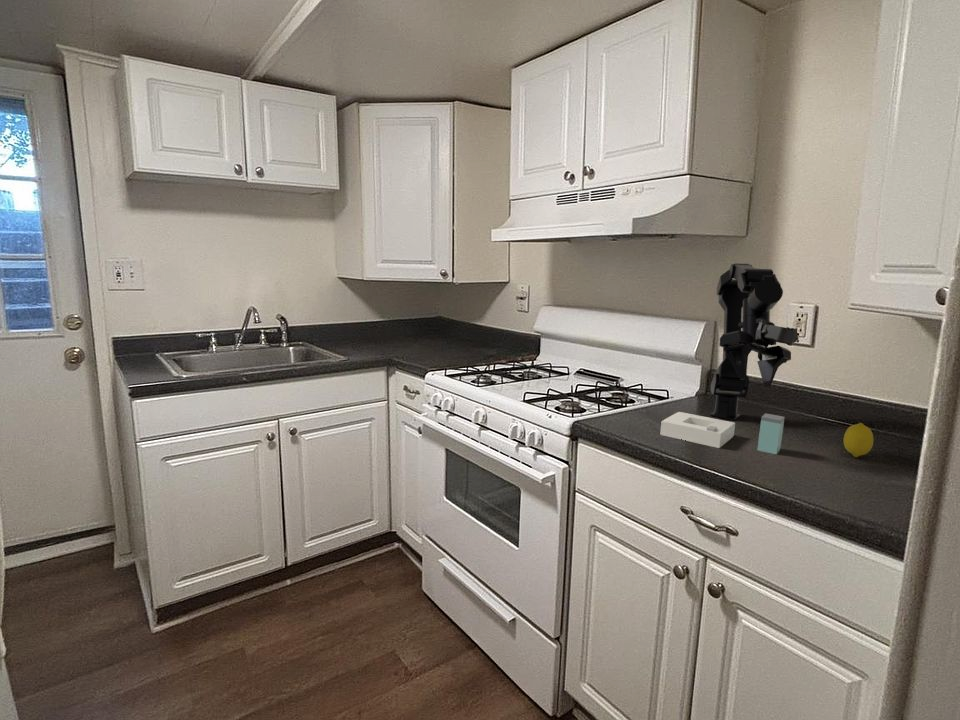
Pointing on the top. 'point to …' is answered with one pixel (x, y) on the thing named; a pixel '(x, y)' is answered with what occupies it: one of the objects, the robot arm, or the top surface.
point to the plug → (770, 433)
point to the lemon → (858, 439)
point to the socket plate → (698, 429)
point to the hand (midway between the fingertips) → (755, 383)
